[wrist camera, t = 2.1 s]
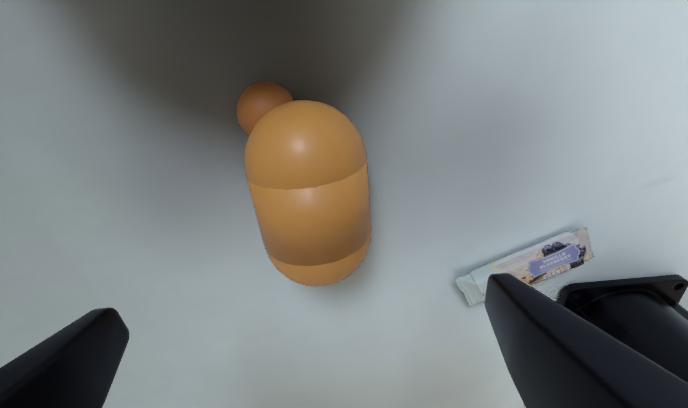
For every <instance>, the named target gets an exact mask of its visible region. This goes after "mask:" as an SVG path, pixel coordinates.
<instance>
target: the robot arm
mask: <svg viewBox="0 0 688 408" xmlns="http://www.w3.org/2000/svg"><path fill="white" fill-rule="evenodd" d="M687 287H688V281H687V280H686V279H684V278H683V277H681V276H680V275H666V276H655V277H643V278H632V279H621V280H609V281H598V282H586V283H575V284H570V285H568V286H566V287H565V288H564V289H563V291H562V294H561V297H560V300H559V303H557V302H555V301H554V300H552V299H550V298H549V297H547V296H545V295H544V294H542V293H541V292H539V291H537V290H536V289H534V288H532V287H531V286H529V285H527V284H526V283H524V282H523V281H521V280H519V279H518V278H516V277H514V276H513V275H511V274H509V273H496V274H491V275H490V276H489V277H488V282H487V288H486V295H485V307H486V311H487V313H488V316H489V319H490V322H491V324H492V327H493V330H494V333H495V335H496V338H497V341H498V344H499V346H500V349H501V352H502V354H503V357H504V360H505V363H506V365H507V368H508V370H509V373H510V375H511V377H512V379H513V382H514V384H515V386H516V388H517V390H518V392H519V394H520V396H521V398H522V400H523V402H524V404H525V406H526V408H688V311H687V310H685V309H684V308H683V307H682V306H680V305H679V304H678V303H679V301H680V299H681V298H682V296H683V294H684V292H685V290H686V289H687ZM128 340H129V330H128V328H127V327H126V325H125V323H124V322H123V320H122V318H121V317H120V315H119V313H118V312H117V311H116V310H115V309H114V308H100V309H95V310H92V311H90V312H89V313H87V314H86V315H84V316H82V317H81V318H79V319H78V320H76V321H74V322H73V323H71V324H70V325H68V326H66V327H65V328H63V329H62V330H60V331H59V332H57V333H55V334H54V335H52V336H51V337H49V338H47V339H46V340H44V341H43V342H41V343H39V344H38V345H36V346H35V347H33V348H31V349H30V350H28V351H27V352H25V353H23V354H22V355H20V356H19V357H17V358H16V359H14V360H12V361H11V362H9V363H8V364H6V365H4V366H3V367H1V368H0V408H102V407H103V404H104V402H105V400H106V397H107V395H108V392H109V390H110V387H111V384H112V382H113V379H114V377H115V374H116V371H117V369H118V366H119V364H120V361H121V359H122V356H123V353H124V351H125V348H126V346H127V343H128Z"/></svg>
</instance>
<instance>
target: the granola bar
mask: <svg viewBox="0 0 688 408" xmlns="http://www.w3.org/2000/svg"><path fill="white" fill-rule="evenodd" d="M593 257H594V256H593V253H592V250H591V246H590V241H589V235H588V230H587V228H583V229H578V230H576V231H574V232H572V233H569V232H564V233H562V234H559V235H556V236H554V237H551V238H549V239H546V240H544V241H542V242H539V243H537V244H534V245H532V246H529V247H527V248H525V249H522V250H520V251H517V252H515V253H513V254H510V255H508V256H505V257H503V258H501V259H498V260H496V261H493V262H491V263H489V264H486V265H484V266H481V267H479V268H477V269H475V270H472V271H470V273H469V274H467V275H464V276H459V277H458V278H456V279H455V282H456V284H457V286H458V287H459V289H460V290H461V291H462V292H463V293H464V295H465V297H466V300H467V301H468V303H469V305H470V306H471V305H475V304H477V303H479V302H482V301H483V302H485V295H486V288H487V282H488V277H489V276H490V275H491V274H496V273H509V274H511V275H513V276H514V277H516V278H518V279H519V280H521V281H523V282H524V283H526V284H527V285H532V284H534V283H537V282H539V281H542V280H545V279H547V278H550V277H552V276H555V275H557V274H560V273H562V272H565V271H568V270H570V269H572V268H575V267H577V266H580V265H582V264H584V261H588V260H589V259H591V258H593Z"/></svg>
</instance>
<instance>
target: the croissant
mask: <svg viewBox="0 0 688 408" xmlns="http://www.w3.org/2000/svg"><path fill="white" fill-rule="evenodd" d="M236 111H237V118H238V121H239V124H240V126H241V127H242V129H243V130H244V132H245V133H246V134H247V135H248V136H249V138H248V141H247V144H246V148H245V155H244V165H245V172H246V178H247V182H248V186H249V189H250V193H251V197H252V201H253V205H254V208H255V212H256V216H257V220H258V224H259V227H260V231H261V235H262V239H263V243H264V246H265V249H266V252H267V254H268V257H269V258H270V260H271V262H272V263H273V264H274V266H275V267H276V269H277V270H279V271H280V272H281V273H282V274H283V275H284V276H286V277H287V278H289V279H290V280H292V281H294V282H297V283H300V284H303V285H307V286H326V285H330V284H334V283H337V282H339V281H341V280H343V279H345V278H346V277H348V276H349V275H350V274H351V273H353V272H354V271H355V270H356V269H357V268H358V267H359V265H360V264H361V262H362V261H363V259H364V258H365V256H366V254H367V251H368V248H369V244H370V241H371V218H370V202H369V187H368V171H367V157H366V151H365V145H364V143H363V140H362V138H361V135H360V134H359V132H358V130H357V129H356V127H355V126H354V124H353V123H352V122H351V121H350V120H349V119H348V118H347V117H346V116H345V115H344V114H343V113H342V112H340V111H338V110H337V109H335V108H334V107H332V106H330V105H327V104H324V103H322V102H318V101H311V100H296V101H294V99H293V97H292V96H291V94H290V93H289V92H288V91H287V90H286V89H285V88H283V87H282V86H280V85H278V84H276V83H273V82H266V81H265V82H257V83H254V84H252V85H250V86H249V87H247V88H246V89H245V90H244V91H243V92H242V94H241V95H240V97H239V100H238V103H237V109H236Z"/></svg>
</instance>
